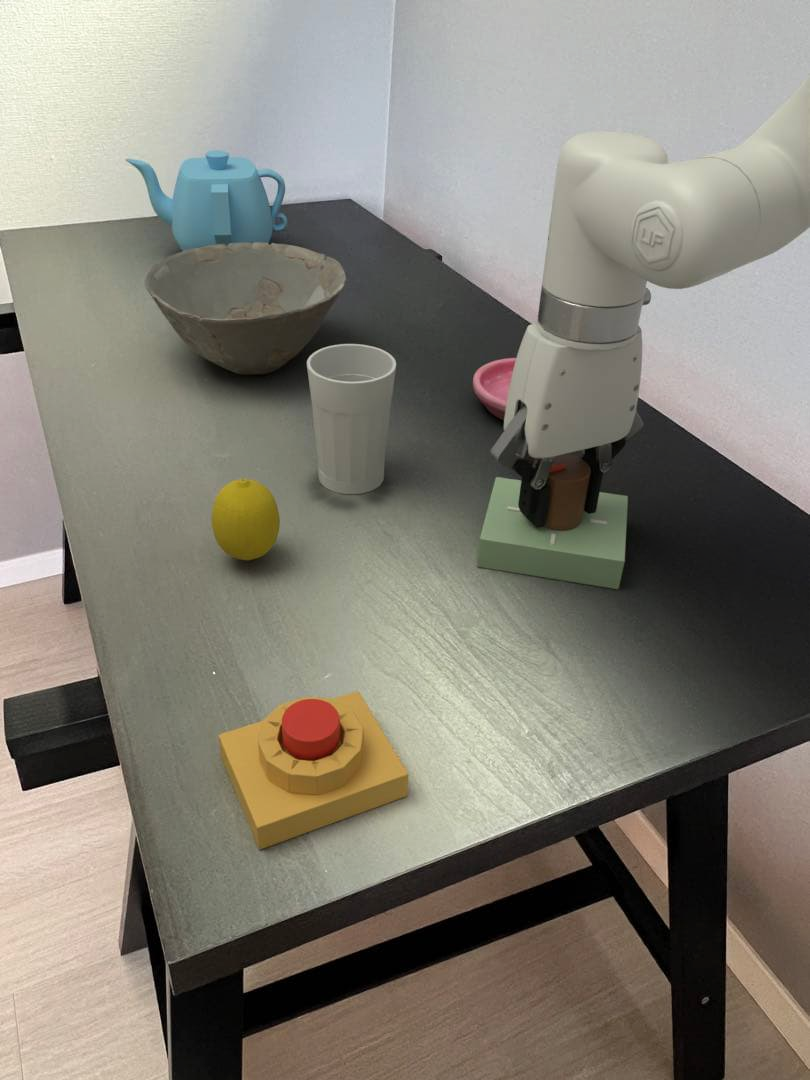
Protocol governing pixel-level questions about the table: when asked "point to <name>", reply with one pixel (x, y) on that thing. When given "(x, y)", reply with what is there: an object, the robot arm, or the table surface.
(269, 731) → the button box
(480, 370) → the saucer
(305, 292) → the ceramic bowl
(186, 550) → the table surface
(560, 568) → the panel
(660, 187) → the robot arm
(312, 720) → the button
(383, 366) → the cup
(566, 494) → the knob
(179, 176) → the teapot
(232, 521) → the lemon
